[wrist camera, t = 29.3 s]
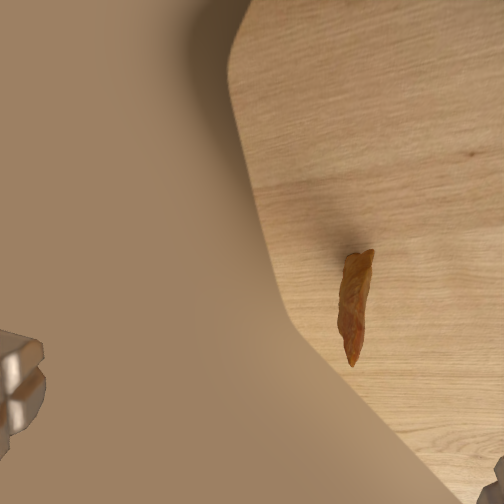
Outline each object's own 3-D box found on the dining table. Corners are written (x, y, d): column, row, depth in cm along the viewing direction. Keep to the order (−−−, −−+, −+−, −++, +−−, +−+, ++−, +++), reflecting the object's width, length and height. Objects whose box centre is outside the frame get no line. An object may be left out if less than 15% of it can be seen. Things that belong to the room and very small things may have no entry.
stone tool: (347, 229, 39) (351, 324, 25) (374, 235, 39) (393, 333, 25) (333, 280, 41) (331, 392, 27) (358, 285, 41) (369, 401, 27)
